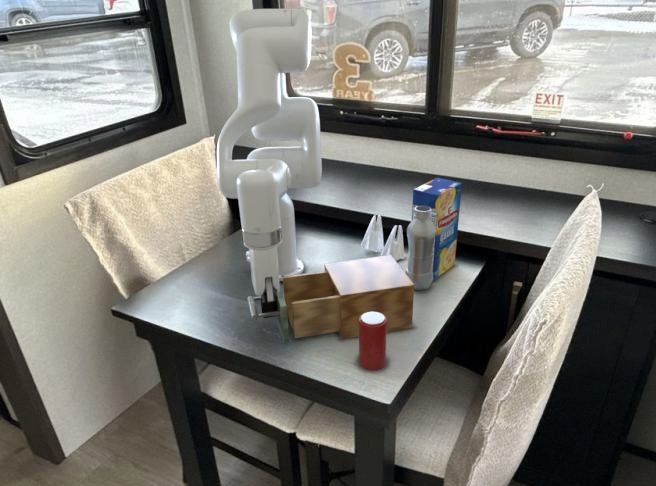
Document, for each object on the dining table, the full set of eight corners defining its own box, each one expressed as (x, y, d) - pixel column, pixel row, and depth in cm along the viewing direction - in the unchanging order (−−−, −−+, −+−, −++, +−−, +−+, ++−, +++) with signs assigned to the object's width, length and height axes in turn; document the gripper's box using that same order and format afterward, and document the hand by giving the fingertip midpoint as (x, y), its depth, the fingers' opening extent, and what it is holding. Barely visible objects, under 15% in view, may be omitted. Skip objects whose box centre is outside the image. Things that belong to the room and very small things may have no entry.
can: (363, 372, 105) (363, 327, 100) (355, 356, 109) (355, 312, 104) (389, 367, 106) (390, 322, 101) (380, 352, 110) (381, 308, 105)
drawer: (255, 347, 111) (251, 310, 107) (248, 314, 122) (244, 279, 118) (352, 332, 115) (351, 296, 111) (336, 301, 126) (335, 267, 122)
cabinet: (341, 339, 115) (340, 295, 109) (325, 304, 127) (324, 263, 121) (412, 327, 118) (414, 284, 112) (389, 295, 130) (391, 254, 125)
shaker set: (359, 252, 151) (359, 214, 145) (368, 246, 153) (369, 209, 148) (396, 263, 144) (398, 224, 138) (405, 258, 147) (407, 219, 141)
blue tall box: (408, 273, 139) (413, 189, 128) (431, 257, 147) (437, 177, 135) (432, 280, 136) (438, 195, 124) (454, 264, 143) (462, 182, 132)
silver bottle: (431, 294, 130) (437, 214, 120) (403, 291, 131) (406, 213, 121) (433, 281, 135) (439, 204, 125) (405, 279, 137) (409, 202, 126)
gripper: (239, 223, 112) (248, 300, 122) (246, 253, 100) (256, 337, 109) (275, 219, 114) (282, 296, 123) (287, 248, 101) (293, 331, 110)
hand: (270, 315), depth 116 cm, fingers closed
